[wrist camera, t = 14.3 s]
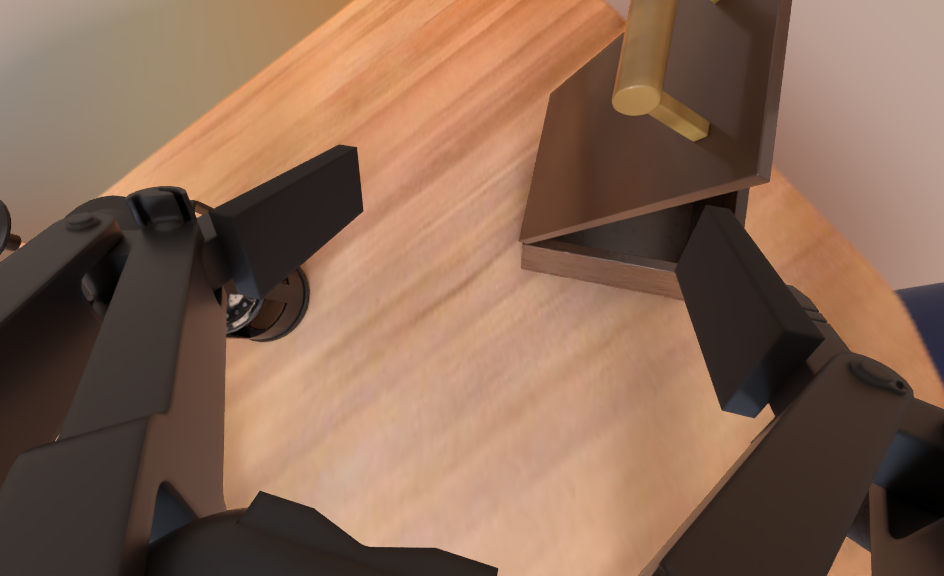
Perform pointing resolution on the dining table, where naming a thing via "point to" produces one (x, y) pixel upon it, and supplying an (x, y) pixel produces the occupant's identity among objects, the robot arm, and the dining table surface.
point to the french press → (238, 306)
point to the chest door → (662, 115)
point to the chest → (630, 248)
